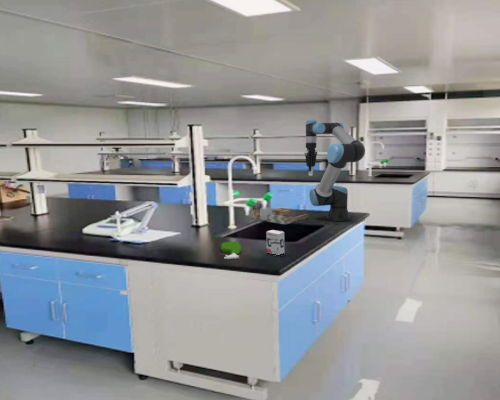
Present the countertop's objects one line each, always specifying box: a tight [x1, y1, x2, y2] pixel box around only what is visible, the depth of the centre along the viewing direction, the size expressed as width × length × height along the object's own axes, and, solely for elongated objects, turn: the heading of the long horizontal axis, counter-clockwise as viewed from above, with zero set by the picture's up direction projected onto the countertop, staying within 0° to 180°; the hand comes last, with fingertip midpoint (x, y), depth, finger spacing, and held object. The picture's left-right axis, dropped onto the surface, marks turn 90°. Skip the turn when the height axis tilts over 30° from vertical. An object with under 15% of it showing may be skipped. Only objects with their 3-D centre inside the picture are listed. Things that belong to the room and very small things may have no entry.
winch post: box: [251, 202, 262, 222], centre depth 316 cm, size 6×4×14 cm
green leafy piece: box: [220, 241, 242, 260], centre depth 236 cm, size 3×11×25 cm
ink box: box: [265, 229, 285, 256], centre depth 231 cm, size 8×5×12 cm, turn 48°
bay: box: [266, 213, 309, 225], centre depth 316 cm, size 16×26×5 cm, turn 138°
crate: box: [271, 207, 292, 218], centre depth 311 cm, size 9×9×8 cm
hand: (310, 175), depth 324 cm, fingers closed
